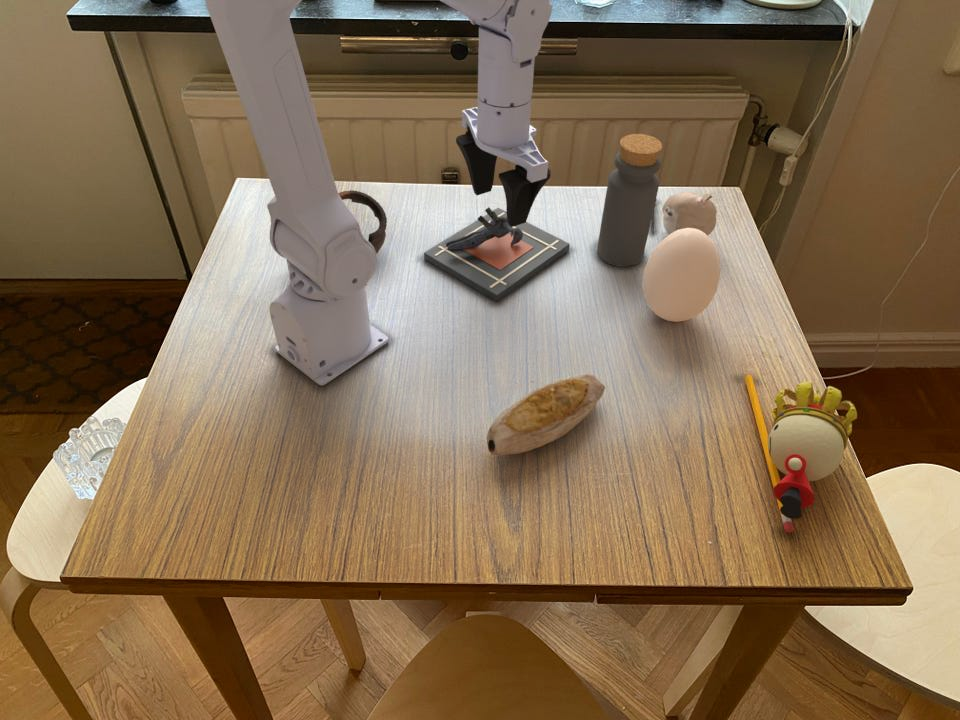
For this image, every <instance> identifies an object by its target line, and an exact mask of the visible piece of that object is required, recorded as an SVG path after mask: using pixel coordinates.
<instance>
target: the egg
mask: <svg viewBox="0 0 960 720" xmlns="http://www.w3.org/2000/svg"><path fill="white" fill-rule="evenodd" d="M719 258H720V257H719V253H718V251H717V248H716V245H715V243H714V242H713V240H712V238H711V237H710V236H709V235H708V236H707V235H706V234H705V233H704V232H702V231H700V230H698V229H694V228H684V229H680V230H677V231H674V232H673V233H671V234H669V233H668V235H667V236H666V237H664V238H663V239H662V240H661V241H660V242H659V243H658V245H656V247H655V248H654V249H653V251H652V252H651V254H650V255H649V257H648V260H647V262H646V265H645V268H644V270H643V277H642V290H643V295H644V299H645V301H646V303H647V305H648V306H649V308H650V309H651V311H652V312H653V313H654V314H655V315H656V316H658V317H659V318H661V319H663V320H665V321H668V322H674V323H679V322H684V321H685V322H686V321H688V320H690V319H693V318H696V317H697V316H699V314H701V313H702V312H704V311H705V310H706V309H707V308H708V307H709V305H710V304H711V302H712V301H713V299H714V297H715V295H716V293H717V290H718V286H719V282H720V279H721V265H720V259H719Z"/></svg>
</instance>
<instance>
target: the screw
mask: <svg viewBox="0 0 960 720" xmlns="http://www.w3.org/2000/svg"><path fill="white" fill-rule="evenodd" d="M656 202H657V200H656V201H655V203H656ZM654 231H655V209H654V210H653V215H652V219H651V232H652V233H654Z"/></svg>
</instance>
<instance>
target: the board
mask: <svg viewBox="0 0 960 720" xmlns="http://www.w3.org/2000/svg"><path fill="white" fill-rule="evenodd" d="M493 211H494V212H495V213H496V215H497V216H498V217H500V216H502V217H507V210H504V209H501V208H500V207H497V208H495V209H493V210H492V212H493ZM482 217H483V218H484V219H485V220H487V221H488V222H489V223H490V222H491V220H492V218H491V217H490V216H489V215H488V214H487V213H486V214H485V215H483V216H482ZM484 228H486V227H485V226H484V225H483V224H482V223H481V222H480V221H479V220H475V221H473V222H472V223H471V224H469V225H467V226H466V227H464V228H462V229H461V230H459V231H457V232H456V233H454V234H452V235H451V236H449V237H447V238H446V239H444V240H442V241H440V242H439V243H438V244H436V245H434V246H433V247H431V248H430V249H427V250H426V251H425V252H423V259H424V260H425V261H426V262H429V264H432V265H433V266H435V267H436V268H439V269H440V270H442V271H444V272H445V273H447V274H449V275H450V276H452V277H454V278H456V279H457V280H459V281H460V282H462V283H464V284H466V285H467V286H469V287H471V288H472V289H474V290H476V291H477V292H479V293H481V294H482V295H484V296H485V297H488V298H489V299H491V300H492V301H494V302H496V303H497V302H499V301H500V300H502V299H504V298H505V297H506V296H507V295H508V294H510V293H511V292H513V291H514V290H515V289H517V288H519V287H520V286H522V285H523V284H524V283H525V282H527V281H528V280H529V279H531V278H532V277H534V276H535V275H537V274H538V273H540V272H541V271H542V270H543V269H546V267H548V266H549V265H550V264H552V263H554V262H555V261H557V259H559V258H560V257H562V256H563V255H565V254H566V253H567V252H569V251H570V245H571V244H570V242H567V241H565V240H563V239H561V238H560V237H557V236H555V235H553V234H551V233H549V232H547V231H545V230H543V229H542V228H539V227H538V226H535V225H534V224H532V223H529V222H527V221H526V223H523V224H520V225H517V226H514V227H512V229H513V230H514V229H515V228H519V229H521V231H522V232H523V237H522V239H521V241H520V242H518V243H517V244H514V245H511V242H512V240H513V235H514V234H513V235H512V237H511V232H510V231H509V233H508V234H507V235H505V236H503V237H501V238H497V237H493V238H492V239H489V240H487V241H485V242H484V243H482V244H481V245H479V246H478V247H474V248H469V249H459V250H449V249H448V247H446V245H445V244H446V243H447V242H448V241H451V240H455V239H458V238H461V237H464V236H467V235H468V234H470V233H473V232H479V231H481V230H483V229H484ZM514 231H515V230H514Z"/></svg>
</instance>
